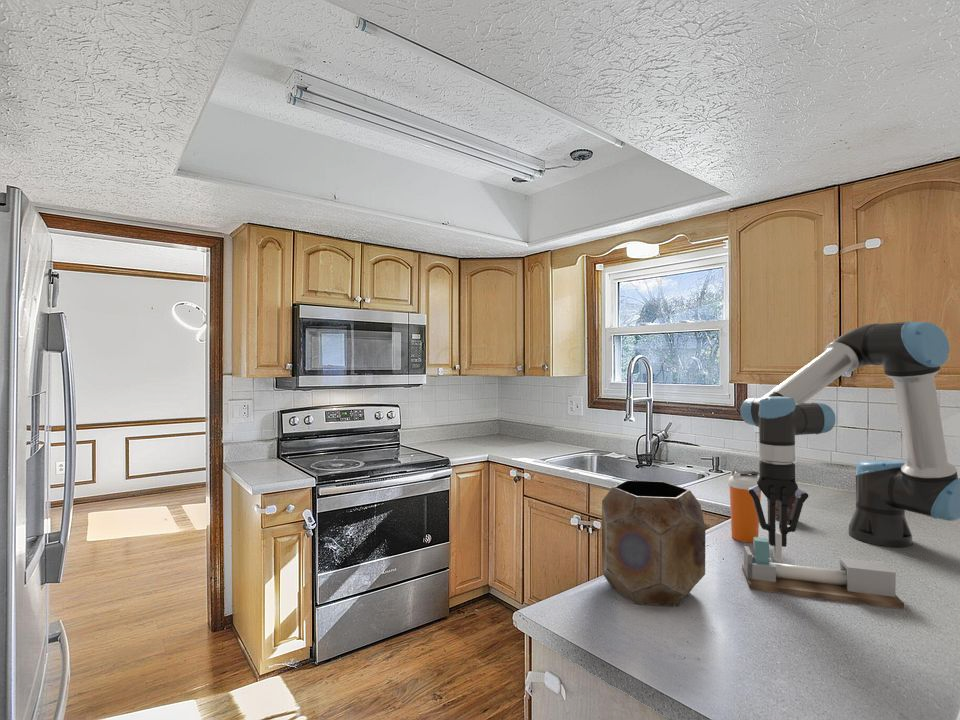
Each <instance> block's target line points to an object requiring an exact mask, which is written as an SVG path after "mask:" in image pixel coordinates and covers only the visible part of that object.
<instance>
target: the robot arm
mask: <svg viewBox="0 0 960 720" xmlns="http://www.w3.org/2000/svg"><path fill="white" fill-rule="evenodd" d="M950 349H951V348H950V343H949V339H948V337H947V334H946V333H945V331H944V330H943V329H942V328H941V327H939V326H938V325H936V324H935V323H932V322H929V321H915V320H911V321H901V322H900V321H899V322H885V323H870V324H864V325H862V326H859V327H856V328H854V329H852V330H850V331H848V332H846V333H844V334H842V335H840V336H839V337H837V338H835V339H834V340H832V341H831V342H830V343H829V344H827V345H826V346H825V347H824V349H823V352H822V353H821V354H819V355H818V356H817V357H815V358H813V360H811V361H810V362H809V363H807V364H806V365H804V366H803V367H801V368H800V369H798V370H797V371H796V372H795V373H794V374H791V376H789V377H788V378H787V379H785V380H784V381H782V382H781V383H780V384H779V385H776V386H775V387H774V388H773V389H771V390H770V391H768V392H767V393H766V394H764V395H763V396H762V397H760V398H759V397H751V398H747V399H745V400H744V401H743V402H742V404H741V406H740V416H741V418H742V419H741V420H743V422H744V423H746V424H747V425H751V426H755V427H758V431H759V432H758V435H759V437H758V438H759V441H758V442H759V443H758V445H759V450H758V451H759V459H760V461H759V462H758V463H759V464H758V466H759V468H758V469H759V470H758V472H759V474H758V475H759V477H758V478H759V480H758V482H757V485H755V486H754V487H752V488H751V487H749V488H748V489H747V490H748V492H749V494H750V495H751V496H752V498H753V502H754V505H755V509H756V512H757V516H758V520H759V527H761V529H762V530H766V531H768V541H769V546H772V547H773V548H772V549H773V550H772V551H773V559H774V560H775V562H783V548H785V547H787V544H788V543H787V540H788V539H787V535H788V534H789V533H793V532H796V530H797V527H798V522H799V519H800V516H801V513H802V509H803V506H804V504H805V503H804V502H806V501H807V499H808V498H809V494H808V492H806V491H805V490H802V489H801V488H799V486H798V485H799V484H797V482H796V464H795V463H794V462H795V461H796V436H799V435H800V436H803V435H804V436H805V435H820V434H825V433H828V432H830V431H831V430H832V429H833V428H834V427H835V425H836V413H835V411H834V410H833V409H832V407H830V406H829V405H828V404H825V403H821V402H809V403H807V401H809V400H810V399H812V398H813V397H814V396H815V395H817V394H818V393H819V392H821V391H822V390H824V388H826V387H828V386H829V385H830V384H831V383H833V382H834V381H836V379H838V378H839V377H841V376H842V375H843V374H845V373H851V372H854V371H856V370H857V369H858V368H861V367H865V366H883V371H884V375H885V377H887V378H889V379H890V380H892V382H893V387H894V388H893V389H894V395H895V400H896V406H897V411H898V419H899V424H900V429H901V435H902V441H903V447H904V454H905V458H906V459H905V460H906V462H904V461H899V460H888V459H887V460H883V459H882V460H881V459H880V460H879V459H877V460H874V459H873V460H872V459H871V460H862V461H860V462H858V463H857V464H856V468H855V469H856V470H855V509H854V512H853V515H852V517H851V520H850V522H849V524H848V534H849V536H851V537H852V538H854V539H856V540H858V541H862V542H865V543H868V544H873V545H877V546H885V547H893V548H905V547H906V548H907V547H910V546H912V545H913V535H912V532H911V529H910V526H909V524H908V521H907V519H906V515H905V512H911V513H914V514H917V515H922V516H926V517H930V518H932V519H935V520H943V521H946V522H947V521H949V522H954V521H957V520H958V519H960V478H959V477H958V476H959V475H958V470H957V467H956V466H955V465H953V464H951V463H950V462H949V461H948V455H947V449H946V443H945V442H946V441H945V435H944V431H943V425H942V417H941V411H940V410H941V409H940V405H939V401H938V400H939V398H938V391H937V388H936V387H937V385H936V382H935V377H936V375H938V373H940V371H941V369H942V368H941V366H942V365H944V364H945V363H946V362H947V360H948V359H949V355H948V354H949V353H950ZM759 490H761V493H763V495H764V496H765V498H767V499H766V501H767V521H766V518H765V515H764V511H763V507H762V504H761V499H760V500H759V498H758V495H759V494H760V493H759ZM795 492H796V493H795ZM794 493H795V496H796V499H795V501H794V505H793V508H792V512H791V515H790V519H789V520H787V505H788V499H789V498H790V497H791V496H792V495H793V494H794ZM776 500H779V520H778V525H779V526H778V529H779V530H777V529H776V519H775V505H776Z"/></svg>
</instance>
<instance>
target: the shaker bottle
mask: <svg viewBox="0 0 960 720" xmlns="http://www.w3.org/2000/svg"><path fill="white" fill-rule="evenodd" d="M758 475H759V471H755V470H754V471H753V470H741V471H739V469H733V470H732V471H731V476H730V477H729V478H728V486H729V502H730V505H729V506H730V508H729V509H730V510H729V511H730V525H731V526H730V527H731V529H730V530H731V537H732V539H733V540H736V541H738V542H744V543H753V537H759V532H760V531H759V530H760V529H759V527H760V523H759V520H758V516H757V512H756V509H755V505H754V502H753V498H752V496H751V495H750V494H749V492H748V490H747V489H748V488H749V487H751V488H752V487H754V486H755V485H757V482H758V480H759V477H758ZM759 493H760V494H759V495H758V498H759V500H760V501H761V496H762V494H761V493H762V491H761V490H759Z"/></svg>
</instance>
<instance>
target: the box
mask: <svg viewBox="0 0 960 720" xmlns="http://www.w3.org/2000/svg"><path fill="white" fill-rule="evenodd" d="M795 493H796V492H795ZM795 493H794V494H793V495H792V496H791V497H790V498H789V499H788V505H787V521H789V519H790V515H791V512H792V508H793V505H794V501H795V499H796V496H795ZM775 520H778V521H779V500H776V505H775Z"/></svg>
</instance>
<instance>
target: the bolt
mask: <svg viewBox="0 0 960 720" xmlns="http://www.w3.org/2000/svg"><path fill="white" fill-rule="evenodd" d="M752 543H753V545H752V546H753V550H752V551H753V552H752V556H753V563H757V564H766V565H774V566H776V577H779V578H788V579H796V580H804V581H812V582H821V583H829V584H837V585H845V586H847V571H842V570H840V569H831V568H823V567H814V566H808V565H807V566H804V565H795V564H789V563H779V562H778V563H777V562H772V563H771V562H769V558H770V544H769V538H766V537H759V536H758V537H753V542H752Z"/></svg>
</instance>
